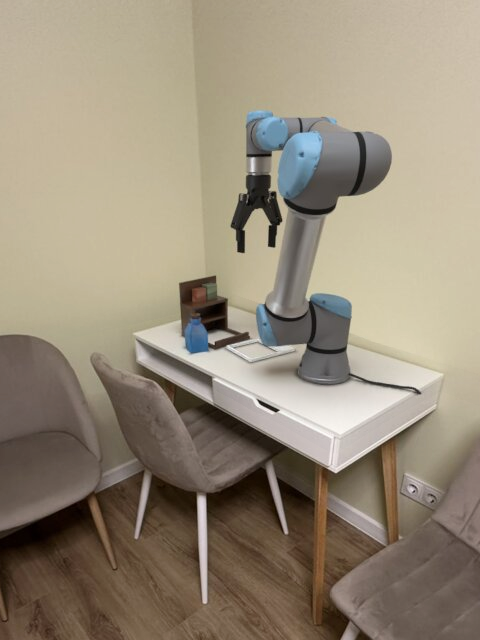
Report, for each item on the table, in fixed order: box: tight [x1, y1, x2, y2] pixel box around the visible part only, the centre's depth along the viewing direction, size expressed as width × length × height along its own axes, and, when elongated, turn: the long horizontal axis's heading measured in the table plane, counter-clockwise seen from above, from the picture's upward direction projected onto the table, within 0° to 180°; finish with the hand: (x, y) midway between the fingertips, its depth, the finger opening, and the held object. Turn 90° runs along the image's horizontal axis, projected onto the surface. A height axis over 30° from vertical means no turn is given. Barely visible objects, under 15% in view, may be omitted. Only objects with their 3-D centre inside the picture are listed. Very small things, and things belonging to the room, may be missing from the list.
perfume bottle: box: [184, 313, 209, 355], centre depth 157 cm, size 6×6×12 cm
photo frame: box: [225, 337, 296, 363], centre depth 159 cm, size 15×1×18 cm
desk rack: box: [178, 275, 251, 350], centre depth 166 cm, size 19×16×19 cm
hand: (256, 249), depth 150 cm, fingers open, 13 cm apart
